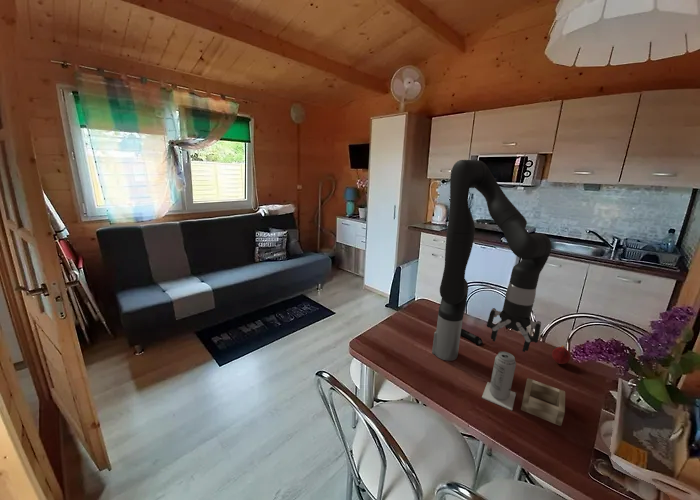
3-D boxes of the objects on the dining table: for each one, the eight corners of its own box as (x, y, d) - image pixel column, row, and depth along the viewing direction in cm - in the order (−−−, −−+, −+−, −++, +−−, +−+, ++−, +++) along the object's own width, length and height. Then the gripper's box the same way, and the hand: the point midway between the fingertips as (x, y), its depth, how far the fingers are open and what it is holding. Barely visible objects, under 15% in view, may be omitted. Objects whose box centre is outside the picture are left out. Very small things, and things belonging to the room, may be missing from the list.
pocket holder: (520, 409, 95) (523, 396, 94) (524, 390, 104) (527, 377, 102) (561, 426, 90) (564, 412, 88) (561, 404, 98) (565, 391, 97)
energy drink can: (512, 401, 98) (520, 362, 94) (493, 400, 98) (500, 361, 94) (503, 388, 104) (511, 350, 99) (486, 387, 104) (493, 349, 100)
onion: (570, 369, 115) (575, 351, 113) (554, 367, 116) (558, 349, 114) (563, 360, 120) (568, 342, 118) (547, 358, 121) (551, 340, 119)
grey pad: (481, 397, 100) (481, 396, 100) (487, 382, 107) (487, 381, 107) (511, 410, 95) (512, 409, 95) (515, 393, 102) (516, 392, 102)
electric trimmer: (453, 328, 143) (454, 322, 142) (483, 343, 130) (484, 337, 129) (448, 330, 141) (448, 324, 140) (477, 346, 128) (478, 340, 127)
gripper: (548, 301, 90) (535, 348, 94) (496, 288, 97) (487, 332, 102) (546, 310, 84) (533, 360, 88) (491, 295, 91) (482, 342, 96)
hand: (508, 345), depth 95 cm, fingers open, 8 cm apart
